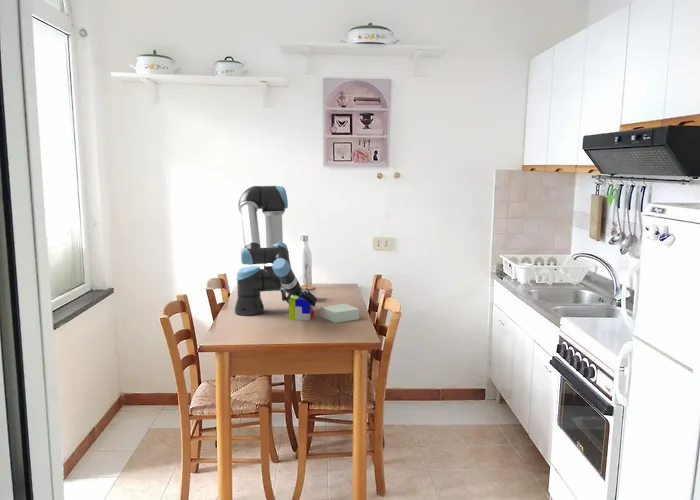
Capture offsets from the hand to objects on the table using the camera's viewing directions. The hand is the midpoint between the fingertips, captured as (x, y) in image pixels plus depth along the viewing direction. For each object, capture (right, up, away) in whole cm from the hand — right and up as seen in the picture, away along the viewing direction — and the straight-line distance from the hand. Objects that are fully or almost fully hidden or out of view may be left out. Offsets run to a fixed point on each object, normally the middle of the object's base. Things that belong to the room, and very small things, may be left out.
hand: (304, 307), depth 276 cm
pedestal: (+18, -5, -3) cm, 19 cm away
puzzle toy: (-1, -5, -2) cm, 5 cm away
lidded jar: (-1, 0, +34) cm, 34 cm away
